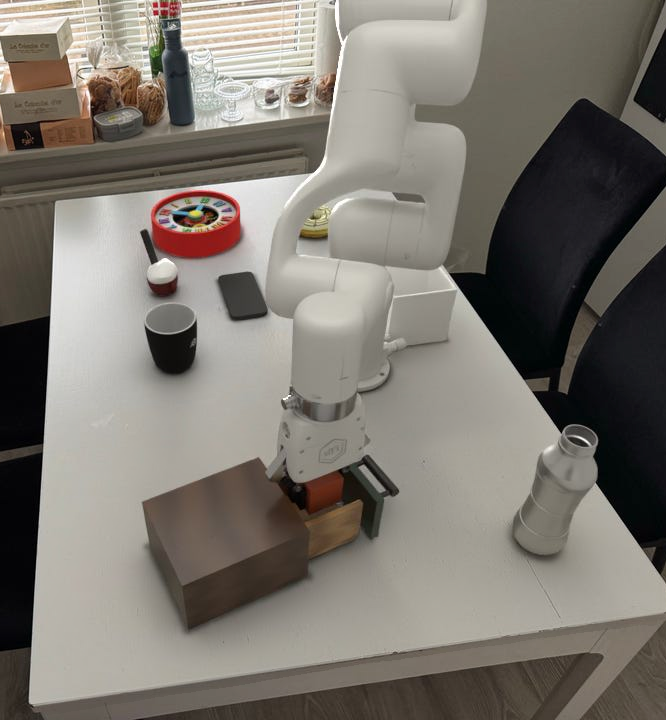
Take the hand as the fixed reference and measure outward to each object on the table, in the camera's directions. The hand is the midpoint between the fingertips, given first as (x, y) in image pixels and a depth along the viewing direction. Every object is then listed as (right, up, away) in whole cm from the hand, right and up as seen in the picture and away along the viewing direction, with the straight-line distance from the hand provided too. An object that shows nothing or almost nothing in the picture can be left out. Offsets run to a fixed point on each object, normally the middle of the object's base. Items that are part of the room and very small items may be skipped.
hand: (315, 493), depth 90 cm
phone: (-6, +30, +47) cm, 56 cm away
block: (0, 0, 0) cm, 0 cm away
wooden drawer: (+1, -4, +4) cm, 6 cm away
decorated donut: (+11, +47, +65) cm, 81 cm away
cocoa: (-22, +32, +50) cm, 64 cm away
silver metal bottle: (+29, -6, 0) cm, 30 cm away
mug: (-19, +18, +34) cm, 43 cm away
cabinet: (-12, -9, +1) cm, 15 cm away
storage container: (+22, +28, +42) cm, 55 cm away
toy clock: (-15, +46, +67) cm, 82 cm away
